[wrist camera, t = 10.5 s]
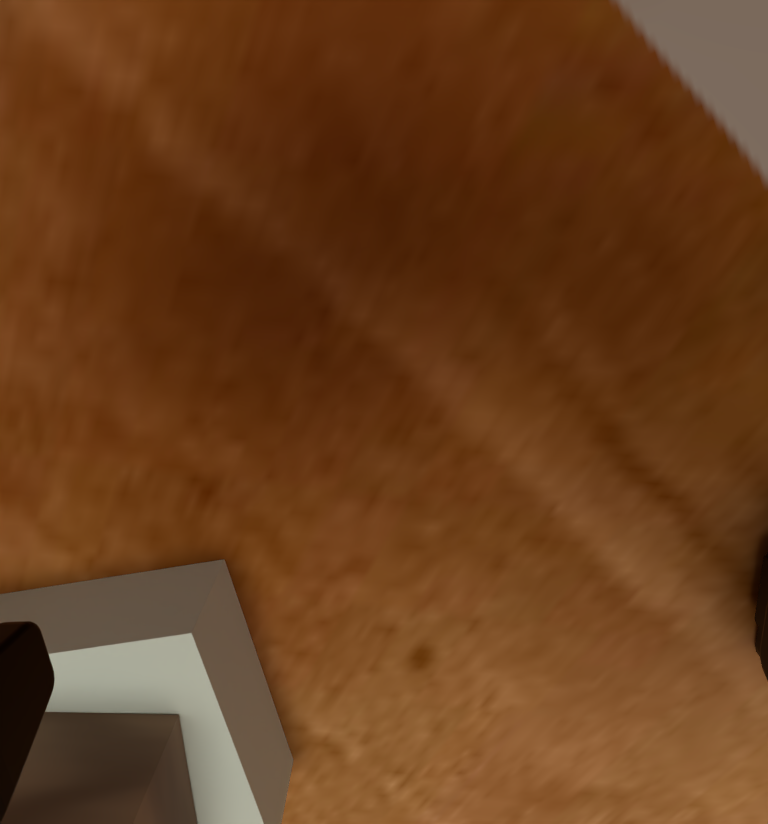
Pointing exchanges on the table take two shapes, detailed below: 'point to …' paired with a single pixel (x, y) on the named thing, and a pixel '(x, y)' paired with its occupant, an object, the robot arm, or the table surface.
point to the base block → (171, 676)
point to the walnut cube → (104, 772)
